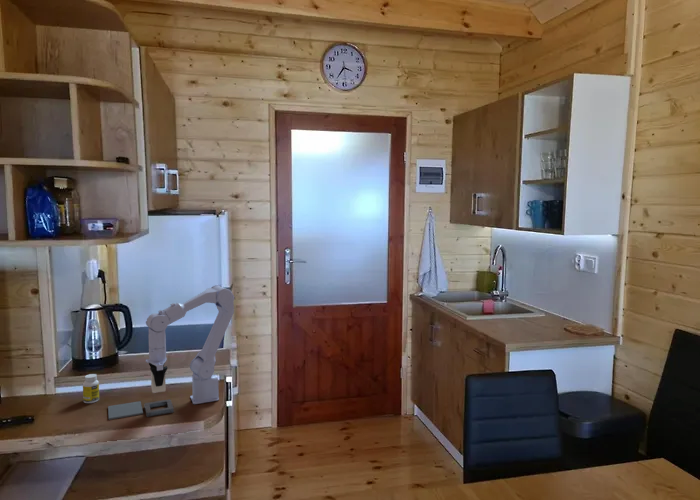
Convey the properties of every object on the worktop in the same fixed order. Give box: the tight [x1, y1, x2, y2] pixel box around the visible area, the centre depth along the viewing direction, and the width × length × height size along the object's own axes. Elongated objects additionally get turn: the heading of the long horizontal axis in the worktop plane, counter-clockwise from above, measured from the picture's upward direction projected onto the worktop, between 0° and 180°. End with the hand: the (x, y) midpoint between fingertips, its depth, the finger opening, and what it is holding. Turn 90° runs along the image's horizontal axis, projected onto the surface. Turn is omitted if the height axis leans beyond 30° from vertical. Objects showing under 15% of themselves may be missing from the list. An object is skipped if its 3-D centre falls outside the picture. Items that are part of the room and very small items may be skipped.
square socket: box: [144, 398, 175, 418], centre depth 180 cm, size 9×9×2 cm
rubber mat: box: [107, 400, 144, 421], centre depth 179 cm, size 11×11×1 cm
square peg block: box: [150, 371, 167, 394], centre depth 179 cm, size 4×4×7 cm
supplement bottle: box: [82, 373, 100, 404], centre depth 186 cm, size 5×5×10 cm
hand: (158, 383), depth 179 cm, fingers closed on square peg block, 4 cm apart
